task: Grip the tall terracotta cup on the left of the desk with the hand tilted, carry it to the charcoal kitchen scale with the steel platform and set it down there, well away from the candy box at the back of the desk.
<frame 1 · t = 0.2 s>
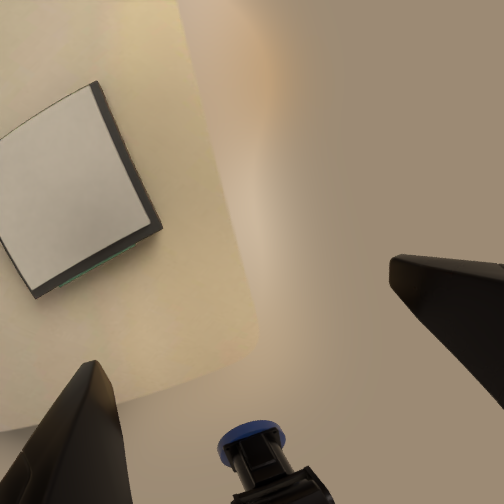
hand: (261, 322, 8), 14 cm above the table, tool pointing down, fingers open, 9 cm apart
scale: (62, 190, 18), on the table
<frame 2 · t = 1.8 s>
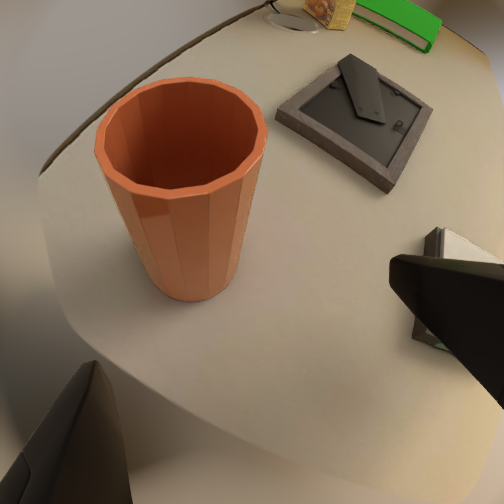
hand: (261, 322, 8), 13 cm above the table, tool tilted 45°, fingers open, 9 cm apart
candy box: (323, 19, 44), on the table
scale: (460, 301, 25), on the table
picture frame: (364, 116, 33), on the table
cup: (191, 256, 23), on the table
book: (391, 15, 53), on the table
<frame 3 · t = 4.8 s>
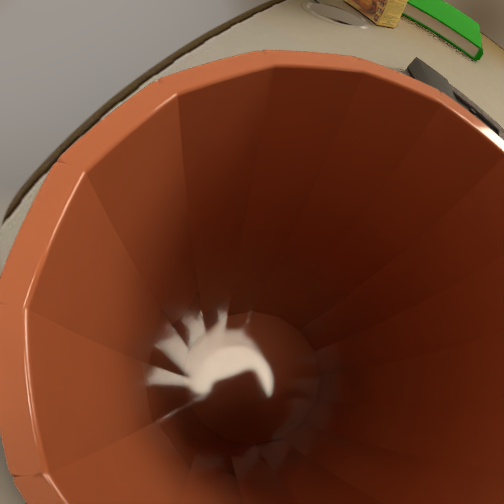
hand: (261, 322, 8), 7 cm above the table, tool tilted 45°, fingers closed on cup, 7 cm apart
candy box: (368, 14, 35), on the table
picture frame: (445, 140, 24), on the table
cup: (251, 378, 14), on the table, touching gripper
book: (430, 16, 44), on the table
when the fingers open (9 cm above the table, at t = 11.7 s): cup stays where it is, resting on scale.
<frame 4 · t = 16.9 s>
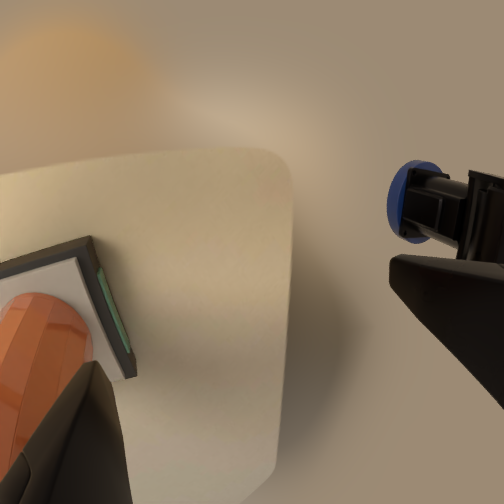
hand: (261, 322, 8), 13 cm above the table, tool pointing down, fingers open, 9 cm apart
scale: (51, 320, 19), on the table
cup: (44, 340, 16), point 3 cm above the table, touching scale
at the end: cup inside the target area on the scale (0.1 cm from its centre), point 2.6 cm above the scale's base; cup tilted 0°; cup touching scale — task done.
